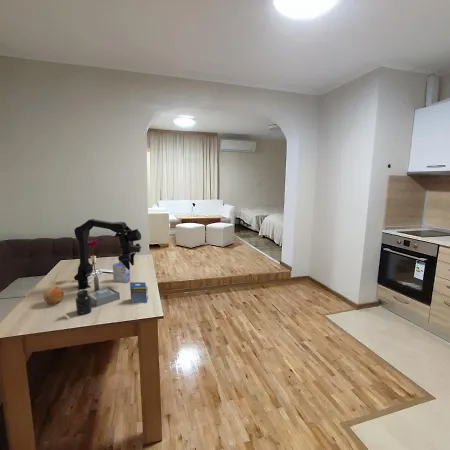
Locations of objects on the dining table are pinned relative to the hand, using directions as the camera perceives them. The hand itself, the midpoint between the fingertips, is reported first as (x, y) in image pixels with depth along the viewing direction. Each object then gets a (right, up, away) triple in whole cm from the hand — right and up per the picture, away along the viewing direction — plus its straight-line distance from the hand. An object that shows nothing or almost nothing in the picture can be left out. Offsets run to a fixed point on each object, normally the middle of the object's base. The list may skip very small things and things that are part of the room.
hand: (131, 267), depth 171 cm
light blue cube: (-12, -16, -12) cm, 24 cm away
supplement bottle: (-15, -20, -27) cm, 37 cm away
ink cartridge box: (-12, -12, +17) cm, 24 cm away
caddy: (-13, -17, -11) cm, 24 cm away
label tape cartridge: (+9, -18, -12) cm, 24 cm away
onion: (-38, -18, -16) cm, 44 cm away
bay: (-12, -17, -12) cm, 24 cm away
